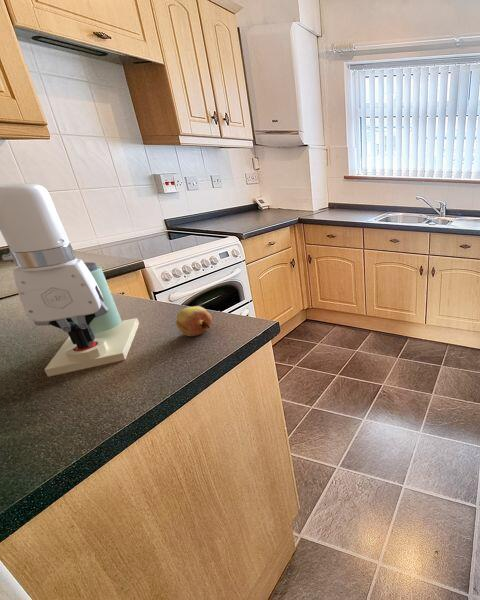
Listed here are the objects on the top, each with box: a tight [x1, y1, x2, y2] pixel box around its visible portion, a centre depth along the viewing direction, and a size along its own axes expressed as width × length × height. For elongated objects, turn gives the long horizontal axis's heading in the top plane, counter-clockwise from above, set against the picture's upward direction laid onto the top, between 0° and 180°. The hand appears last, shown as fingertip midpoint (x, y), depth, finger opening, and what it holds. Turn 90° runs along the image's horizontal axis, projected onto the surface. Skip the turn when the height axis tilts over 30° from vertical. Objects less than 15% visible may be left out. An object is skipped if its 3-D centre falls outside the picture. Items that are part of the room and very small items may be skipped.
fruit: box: [175, 305, 213, 337], centre depth 78 cm, size 7×7×10 cm
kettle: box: [72, 261, 122, 334], centre depth 72 cm, size 12×8×14 cm
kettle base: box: [44, 317, 140, 378], centre depth 73 cm, size 18×12×4 cm, turn 28°
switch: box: [75, 341, 97, 351], centre depth 68 cm, size 3×3×2 cm
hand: (86, 344), depth 67 cm, fingers closed
